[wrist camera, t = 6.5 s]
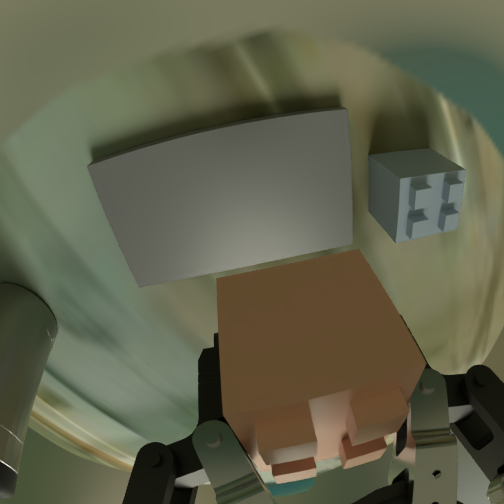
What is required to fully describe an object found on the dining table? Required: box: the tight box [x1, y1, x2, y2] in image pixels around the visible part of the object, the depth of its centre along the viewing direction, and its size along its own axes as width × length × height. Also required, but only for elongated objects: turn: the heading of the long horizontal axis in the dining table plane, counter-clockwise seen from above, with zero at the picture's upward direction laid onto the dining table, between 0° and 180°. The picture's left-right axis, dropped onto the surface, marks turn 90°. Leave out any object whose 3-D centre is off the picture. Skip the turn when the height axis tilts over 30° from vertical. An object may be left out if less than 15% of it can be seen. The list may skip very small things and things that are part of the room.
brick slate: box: [368, 148, 466, 243], centre depth 21 cm, size 6×5×6 cm
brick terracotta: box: [216, 249, 427, 484], centre depth 10 cm, size 6×5×6 cm
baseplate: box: [87, 106, 352, 288], centre depth 22 cm, size 18×11×1 cm, turn 100°
